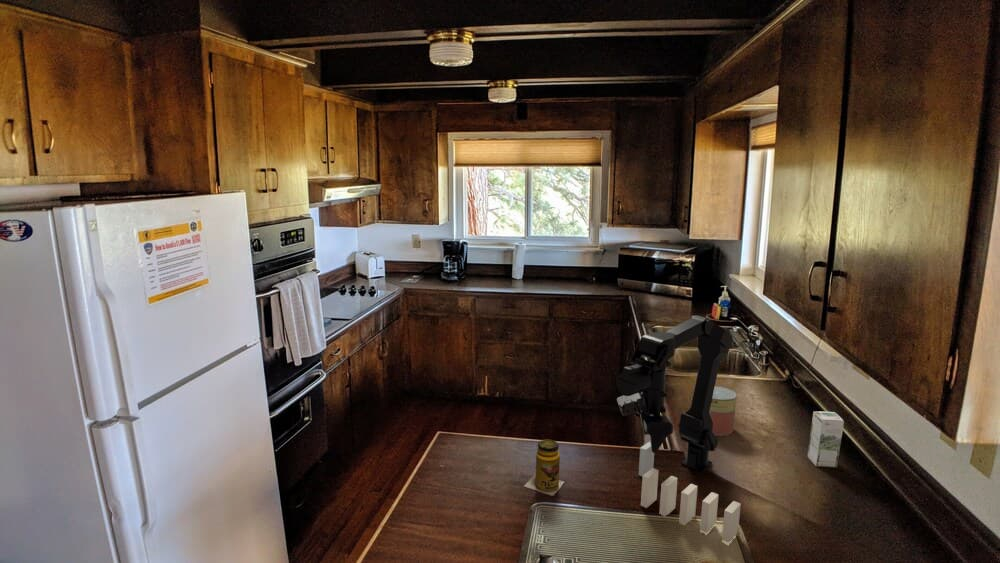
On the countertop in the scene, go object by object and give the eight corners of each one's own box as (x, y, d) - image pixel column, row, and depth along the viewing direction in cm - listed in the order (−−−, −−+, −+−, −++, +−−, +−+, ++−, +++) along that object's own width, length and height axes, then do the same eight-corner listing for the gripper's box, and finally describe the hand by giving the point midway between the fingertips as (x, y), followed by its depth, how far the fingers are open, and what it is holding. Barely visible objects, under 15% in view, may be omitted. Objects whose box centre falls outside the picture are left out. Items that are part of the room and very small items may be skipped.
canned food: (688, 422, 183) (691, 387, 180) (717, 418, 186) (720, 384, 183) (710, 437, 172) (714, 401, 170) (741, 433, 175) (744, 397, 173)
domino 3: (669, 505, 137) (671, 475, 136) (675, 507, 136) (677, 478, 135) (659, 513, 134) (661, 483, 132) (665, 516, 133) (667, 486, 131)
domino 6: (730, 532, 127) (733, 500, 125) (737, 535, 126) (740, 503, 124) (721, 542, 124) (724, 510, 122) (728, 546, 122) (731, 513, 121)
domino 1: (647, 468, 154) (649, 441, 153) (653, 470, 153) (655, 443, 151) (638, 475, 151) (640, 447, 149) (643, 477, 150) (645, 449, 148)
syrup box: (827, 457, 161) (834, 410, 158) (837, 468, 155) (844, 420, 152) (806, 456, 161) (812, 409, 158) (816, 467, 155) (822, 418, 153)
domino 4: (688, 513, 134) (691, 483, 132) (694, 516, 133) (697, 486, 131) (678, 523, 130) (681, 492, 129) (685, 526, 129) (688, 494, 128)
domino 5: (708, 522, 130) (711, 491, 129) (715, 525, 129) (718, 494, 128) (699, 532, 127) (702, 500, 125) (706, 535, 126) (709, 503, 124)
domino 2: (650, 496, 141) (652, 467, 139) (656, 499, 140) (658, 470, 138) (640, 505, 137) (642, 475, 135) (646, 508, 136) (648, 478, 134)
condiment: (553, 496, 140) (554, 452, 138) (523, 486, 145) (524, 444, 142) (564, 482, 147) (566, 440, 144) (535, 473, 151) (536, 432, 148)
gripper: (614, 371, 148) (612, 425, 151) (626, 401, 130) (624, 462, 133) (656, 371, 147) (653, 425, 151) (675, 401, 129) (671, 462, 133)
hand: (650, 442), depth 142 cm, fingers open, 9 cm apart
